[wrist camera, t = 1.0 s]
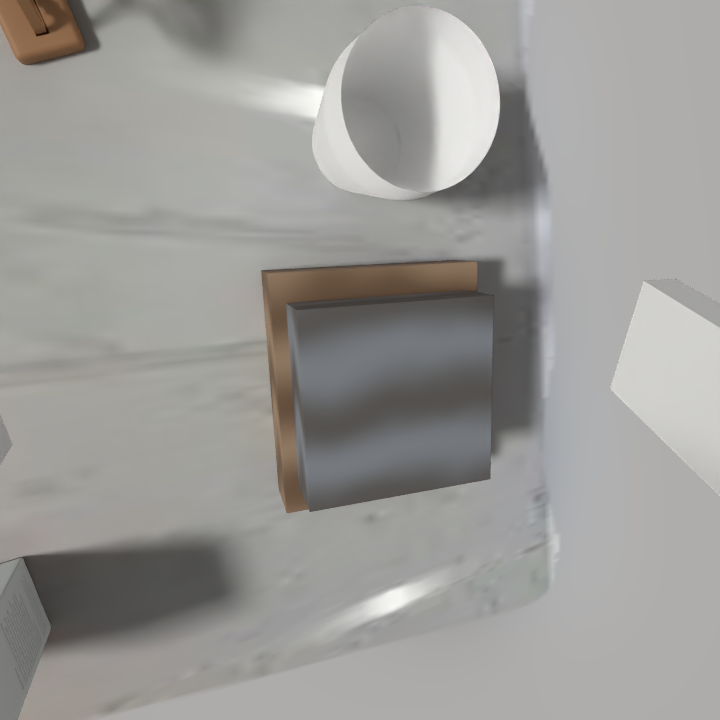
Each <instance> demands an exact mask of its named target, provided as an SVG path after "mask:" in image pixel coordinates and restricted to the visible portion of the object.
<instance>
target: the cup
mask: <svg viewBox="0 0 720 720" xmlns="http://www.w3.org/2000/svg"><path fill="white" fill-rule="evenodd" d="M499 113H500V93H499V85H498V80H497V76H496V72H495V69H494V66H493V63H492V61H491V59H490V56H489V54H488V52H487V51H486V49H485V47H484V45H483V44H482V42H481V41H480V40H479V38H478V37H477V36H476V35H475V33H474V32H473V31H472V30H471V29H470V28H469V27H468V26H467V25H465V24H464V23H463V22H462V21H461V20H459V19H458V18H456V17H454V16H453V15H451V14H449V13H447V12H445V11H442V10H439V9H436V8H432V7H427V6H407V7H402V8H398V9H395V10H392V11H390V12H388V13H386V14H384V15H382V16H381V17H379V18H377V19H376V20H375V21H374V22H372V23H371V24H370V25H369V26H368V27H367V28H366V29H365V30H364V31H363V32H362V33H361V34H360V35H359V36H358V37H357V38H356V39H355V40H354V41H352V42H351V43H350V44H349V45H348V46H347V47H346V48H345V50H344V51H343V52H342V53H341V55H340V56H339V58H338V59H337V61H336V63H335V65H334V66H333V69H332V71H331V73H330V75H329V78H328V81H327V84H326V87H325V90H324V94H323V97H322V101H321V104H320V108H319V111H318V115H317V118H316V122H315V125H314V129H313V135H312V146H313V153H314V157H315V160H316V162H317V165H318V166H319V168H320V170H321V172H322V173H323V174H324V176H325V177H326V178H327V179H328V180H329V181H330V182H331V183H333V184H334V185H335V186H337V187H339V188H341V189H343V190H345V191H349V192H353V193H358V194H364V195H369V196H374V197H380V198H385V199H392V200H414V199H419V198H423V197H426V196H428V195H431V194H433V193H435V192H438V191H440V190H443V189H446V188H448V187H451V186H453V185H455V184H457V183H459V182H460V181H462V180H463V179H465V178H466V177H467V176H468V175H470V174H471V173H472V172H473V171H474V170H475V169H476V168H477V167H478V166H479V164H480V163H481V162H482V160H483V159H484V157H485V156H486V154H487V152H488V150H489V148H490V146H491V144H492V142H493V139H494V137H495V133H496V130H497V126H498V121H499Z"/></svg>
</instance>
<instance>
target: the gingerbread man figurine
mask: <svg viewBox="0 0 720 720" xmlns="http://www.w3.org/2000/svg"><path fill="white" fill-rule="evenodd" d="M0 25H1V27H2V29H3V31H4V33H5V35H6V37H7V40H8V42H9V44H10V46H11V48H12V50H13V52H14V54H15V56H16V58H17V59H18V60H19V61H20V62H21V63H22V64H24V65H30V64H33V63H37V62H41V61H45V60H49V59H53V58H57V57H60V56H64V55H68V54H72V53H76V52H80V51H83V50H84V49H85V47H86V44H85V42H84V39H83V37H82V35H81V32H80V30H79V28H78V25H77V23H76V21H75V18H74V16H73V14H72V11H71V9H70V7H69V5H68V2H67V0H0Z"/></svg>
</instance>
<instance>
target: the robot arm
mask: <svg viewBox="0 0 720 720" xmlns="http://www.w3.org/2000/svg"><path fill="white" fill-rule="evenodd" d="M610 389H611V390H612V391H613V392H614V393H615V394H616V395H617V396H618V397H619V398H620V399H621V400H622V401H623V402H624V403H625V404H626V405H627V406H628V407H629V408H630V409H631V410H632V411H633V412H634V413H635V414H636V415H637V416H638V417H639V418H640V419H641V420H642V421H643V422H644V423H645V424H646V425H647V426H648V427H649V428H650V429H651V430H652V431H653V432H654V433H656V434H657V435H658V436H659V437H660V438H661V439H662V440H663V441H664V442H665V443H666V444H667V445H668V446H669V447H670V448H671V449H672V450H673V451H674V452H675V453H676V454H677V455H678V456H679V457H680V458H681V459H682V460H683V461H684V462H685V463H686V464H687V465H688V466H689V467H690V468H691V469H692V470H693V471H694V472H695V473H696V474H697V475H698V476H700V477H701V479H702V480H703V481H704V482H705V483H707V484H708V485H709V486H710V487H711V488H712V489H713V490H714V491H715V492H716V493H717V494H718V495H719V496H720V304H719V303H718V302H716V301H714V300H712V299H711V298H709V297H707V296H705V295H704V294H702V293H700V292H698V291H696V290H695V289H693V288H691V287H689V286H688V285H686V284H684V283H682V282H680V281H679V280H677V279H667V280H649V281H643V284H642V288H641V291H640V294H639V297H638V301H637V304H636V307H635V310H634V313H633V317H632V320H631V323H630V326H629V329H628V333H627V336H626V339H625V342H624V346H623V349H622V352H621V355H620V358H619V362H618V365H617V368H616V371H615V374H614V378H613V381H612V384H611V387H610ZM11 446H12V441H11V439H10V437H9V434H8V432H7V430H6V427H5V425H4V423H3V420H2V418H1V416H0V464H1V463H2V461H3V459H4V458H5V456H6V454H7V453H8V451H9V449H10V448H11Z"/></svg>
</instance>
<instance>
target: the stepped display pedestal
mask: <svg viewBox="0 0 720 720" xmlns="http://www.w3.org/2000/svg"><path fill="white" fill-rule="evenodd" d="M261 272H262V284H263V297H264V309H265V322H266V334H267V347H268V359H269V372H270V384H271V397H272V409H273V422H274V434H275V447H276V459H277V472H278V484H279V491H280V494H281V497H282V500H283V503H284V506H285V509H286V512H287V513H291V512H297V511H302V510H308V509H309V511H310V512H312V511H318V510H323V509H329V508H334V507H340V506H345V505H351V504H356V503H362V502H367V501H373V500H378V499H384V498H389V497H394V496H400V495H405V494H411V493H416V492H422V491H427V490H433V489H438V488H444V487H449V486H455V485H460V484H466V483H471V482H477V481H482V480H488V479H490V467H491V412H492V356H493V300H494V295H489V294H483V293H477V262H475V261H458V260H446V261H428V262H410V263H391V264H373V265H354V266H336V267H318V268H299V269H281V270H262V271H261Z"/></svg>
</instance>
